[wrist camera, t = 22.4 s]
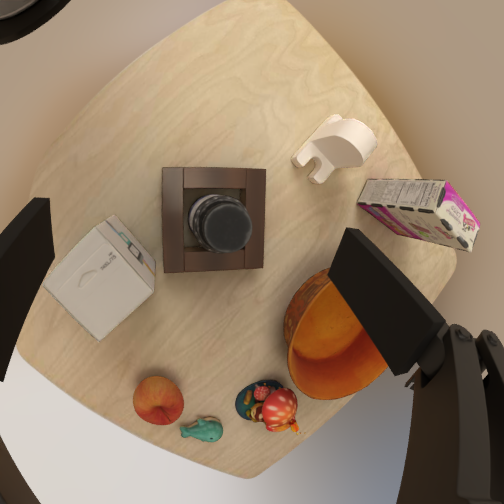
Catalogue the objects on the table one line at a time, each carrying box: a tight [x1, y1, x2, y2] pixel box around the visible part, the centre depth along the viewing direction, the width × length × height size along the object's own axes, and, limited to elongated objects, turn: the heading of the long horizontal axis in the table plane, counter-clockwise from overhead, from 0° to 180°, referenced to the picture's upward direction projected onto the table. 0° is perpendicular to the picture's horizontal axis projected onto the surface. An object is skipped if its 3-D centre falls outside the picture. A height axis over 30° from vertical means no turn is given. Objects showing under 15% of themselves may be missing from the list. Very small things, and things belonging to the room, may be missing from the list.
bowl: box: [284, 268, 388, 400], centre depth 42 cm, size 21×21×10 cm
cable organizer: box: [291, 114, 377, 184], centre depth 36 cm, size 5×10×10 cm, turn 138°
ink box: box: [43, 215, 156, 342], centre depth 30 cm, size 8×8×12 cm
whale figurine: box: [180, 417, 223, 442], centre depth 43 cm, size 6×7×4 cm
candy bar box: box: [357, 179, 480, 252], centre depth 38 cm, size 11×5×16 cm, turn 62°
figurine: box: [235, 380, 305, 435], centre depth 43 cm, size 12×9×8 cm
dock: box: [162, 167, 266, 273], centre depth 37 cm, size 12×12×3 cm
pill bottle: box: [188, 194, 252, 254], centre depth 33 cm, size 6×6×11 cm
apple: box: [133, 376, 184, 425], centre depth 37 cm, size 7×7×8 cm
